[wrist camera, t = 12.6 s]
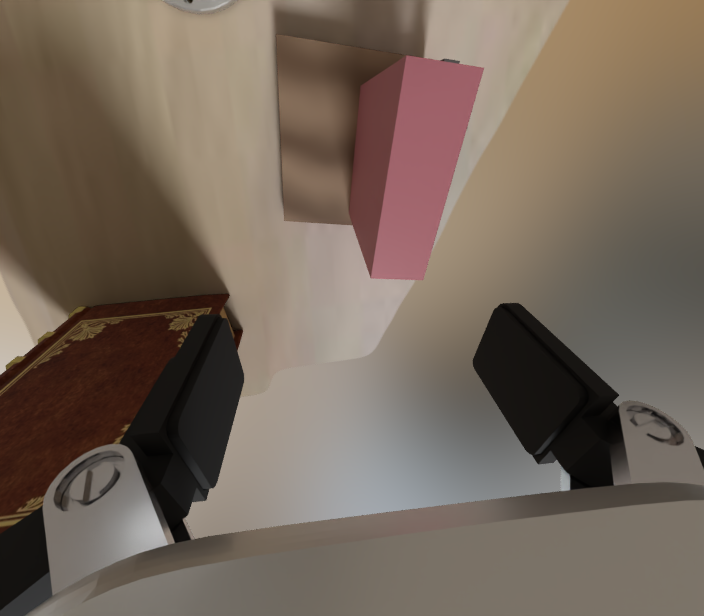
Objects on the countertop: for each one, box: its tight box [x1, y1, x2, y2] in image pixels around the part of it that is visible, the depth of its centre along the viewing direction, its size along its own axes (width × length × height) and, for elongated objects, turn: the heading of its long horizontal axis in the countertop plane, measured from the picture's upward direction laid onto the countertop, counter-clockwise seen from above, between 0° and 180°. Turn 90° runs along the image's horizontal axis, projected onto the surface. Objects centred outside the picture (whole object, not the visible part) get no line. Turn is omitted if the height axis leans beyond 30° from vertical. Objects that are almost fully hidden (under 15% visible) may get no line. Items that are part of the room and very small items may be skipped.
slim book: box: [349, 55, 484, 280], centre depth 23 cm, size 12×4×16 cm, turn 174°
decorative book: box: [0, 294, 243, 534], centre depth 29 cm, size 22×8×30 cm, turn 93°
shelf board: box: [276, 34, 406, 225], centre depth 29 cm, size 16×14×2 cm
